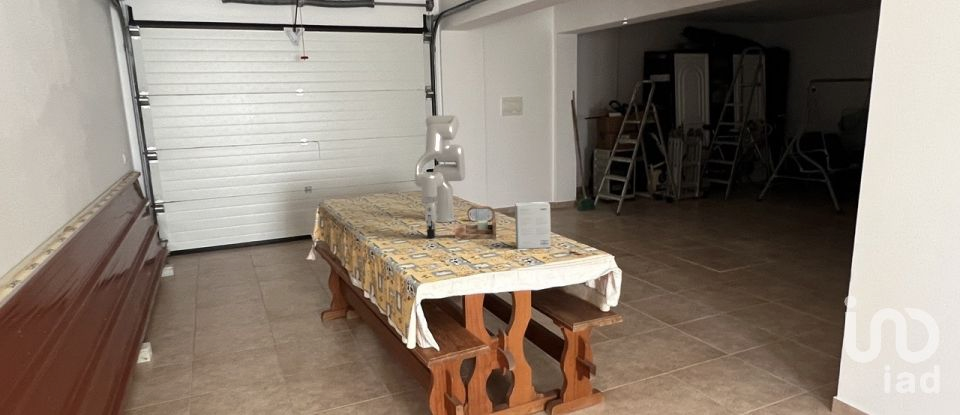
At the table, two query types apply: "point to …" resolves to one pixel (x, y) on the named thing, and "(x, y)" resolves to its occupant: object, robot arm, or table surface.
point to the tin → (480, 213)
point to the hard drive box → (533, 225)
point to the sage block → (482, 225)
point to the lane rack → (481, 231)
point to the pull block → (458, 231)
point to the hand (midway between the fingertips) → (431, 235)
